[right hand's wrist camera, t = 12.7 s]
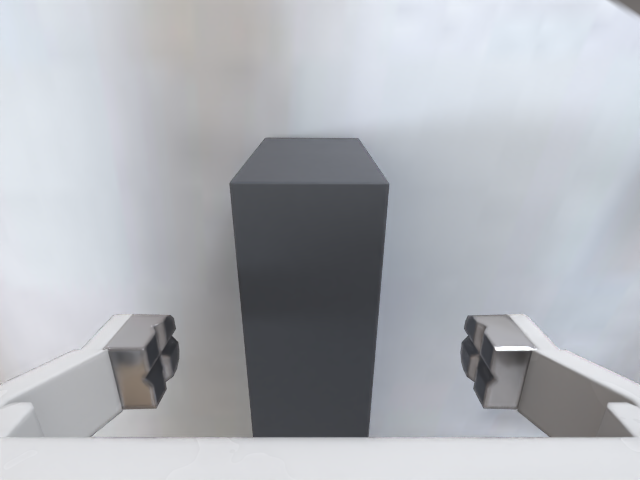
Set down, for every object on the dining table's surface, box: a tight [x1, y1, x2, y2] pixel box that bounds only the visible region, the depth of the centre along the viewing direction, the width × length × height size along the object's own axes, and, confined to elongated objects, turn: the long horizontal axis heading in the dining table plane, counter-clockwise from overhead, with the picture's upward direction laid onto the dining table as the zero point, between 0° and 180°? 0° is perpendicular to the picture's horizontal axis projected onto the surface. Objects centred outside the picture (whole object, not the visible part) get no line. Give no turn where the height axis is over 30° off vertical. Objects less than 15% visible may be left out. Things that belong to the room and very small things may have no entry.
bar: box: [230, 138, 389, 437], centre depth 19 cm, size 26×4×8 cm, turn 0°
